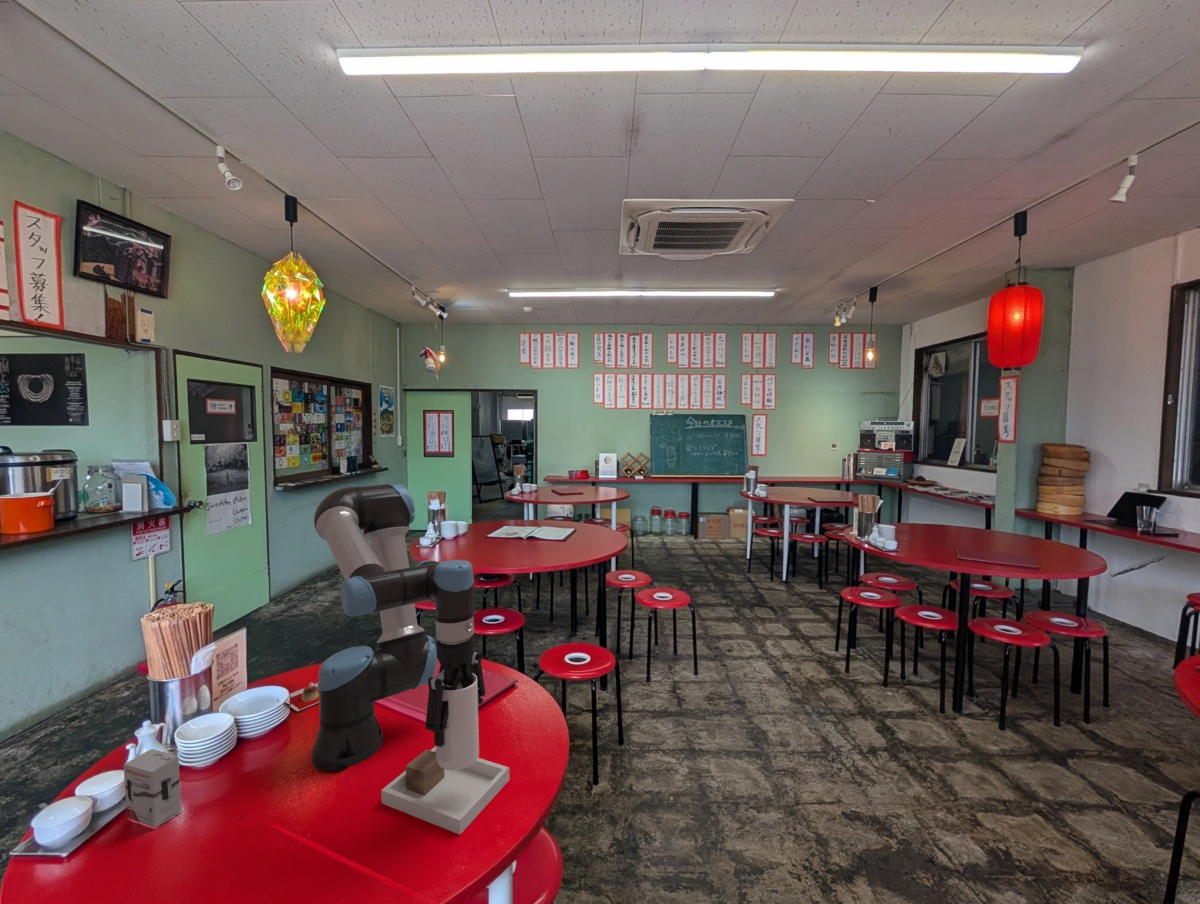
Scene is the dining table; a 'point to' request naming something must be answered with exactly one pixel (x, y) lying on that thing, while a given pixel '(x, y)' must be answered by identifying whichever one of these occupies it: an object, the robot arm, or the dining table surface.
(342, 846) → the dining table surface
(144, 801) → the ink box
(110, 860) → the dining table surface
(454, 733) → the cup
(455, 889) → the dining table surface
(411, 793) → the tray
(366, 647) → the robot arm
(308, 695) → the dessert
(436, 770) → the walnut block
